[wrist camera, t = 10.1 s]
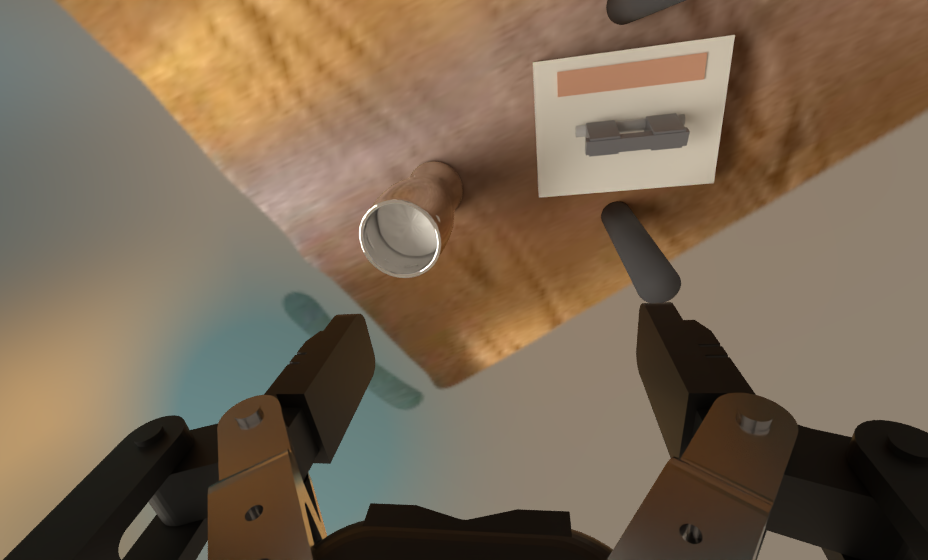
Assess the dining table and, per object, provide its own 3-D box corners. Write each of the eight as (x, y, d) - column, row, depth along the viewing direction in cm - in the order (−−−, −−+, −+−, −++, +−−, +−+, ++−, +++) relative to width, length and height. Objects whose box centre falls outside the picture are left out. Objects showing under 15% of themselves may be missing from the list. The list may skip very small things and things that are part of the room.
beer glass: (473, 164, 44) (451, 208, 31) (460, 225, 47) (436, 289, 34) (408, 150, 44) (359, 187, 31) (400, 212, 47) (353, 269, 34)
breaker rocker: (575, 120, 37) (580, 140, 35) (683, 108, 36) (697, 128, 33) (575, 137, 38) (579, 158, 36) (679, 126, 37) (692, 147, 34)
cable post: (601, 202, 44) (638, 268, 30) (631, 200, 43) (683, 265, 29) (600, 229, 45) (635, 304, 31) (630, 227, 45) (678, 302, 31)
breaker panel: (532, 62, 39) (533, 62, 36) (719, 37, 36) (736, 34, 33) (538, 189, 44) (539, 198, 41) (701, 175, 41) (714, 183, 39)
